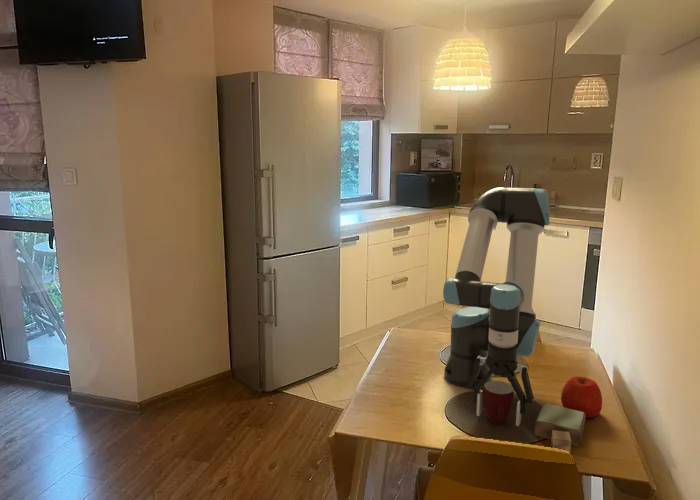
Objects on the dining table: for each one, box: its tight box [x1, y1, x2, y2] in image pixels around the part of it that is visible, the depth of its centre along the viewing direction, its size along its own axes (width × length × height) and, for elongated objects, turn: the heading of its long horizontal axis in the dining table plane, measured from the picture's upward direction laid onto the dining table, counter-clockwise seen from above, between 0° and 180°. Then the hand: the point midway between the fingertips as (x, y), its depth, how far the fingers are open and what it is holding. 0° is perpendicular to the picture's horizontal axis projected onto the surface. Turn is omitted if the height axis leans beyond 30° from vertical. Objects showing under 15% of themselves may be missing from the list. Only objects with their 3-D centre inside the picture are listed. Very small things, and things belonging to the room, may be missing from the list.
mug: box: [482, 380, 515, 425], centre depth 146 cm, size 11×8×10 cm
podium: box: [534, 402, 586, 447], centre depth 142 cm, size 11×11×4 cm
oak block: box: [550, 430, 572, 453], centre depth 134 cm, size 4×4×4 cm
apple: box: [560, 376, 603, 419], centre depth 151 cm, size 11×11×11 cm
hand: (498, 418), depth 146 cm, fingers open, 10 cm apart
